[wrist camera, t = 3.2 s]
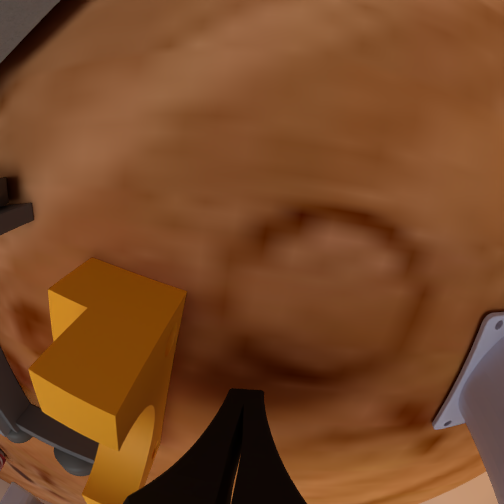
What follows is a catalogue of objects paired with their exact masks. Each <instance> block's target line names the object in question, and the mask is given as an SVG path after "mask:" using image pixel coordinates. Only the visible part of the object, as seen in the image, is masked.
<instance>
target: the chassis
mask: <svg viewBox="0 0 504 504" xmlns="http://www.w3.org/2000/svg"><path fill="white" fill-rule="evenodd" d="M8 203H9V200H8V192H7V182H6V177H3V178H0V235H2V234H4V233H6V232H8V231H10V230H13V229H15V228H17V227H19V226H21V225H24V224H26V223H28V222H31V221H33V220H34V218H33V211H32V203H25V204H15V205H6V204H8ZM4 205H5V206H4ZM0 434H2V435H3V436H5V437H6V436H7V438H8V439H9V440H10V441H12V442H14V443H24V442H26V441H28V440H30V439H31V438H32V437H35V438H37V439H39V440H41V441H43V442H45V443H47V444H49V445H51V446H53V447H54V455H55V457H56V459H57V461H58V462H59V463H60V464H61V465H62V466H63V468H64V469H65V470H66V471H67V472H69V473H70V474H73V475H76V476H86V475H89V474H90V473H91V470H92V467H93V464H94V461H95V458H96V454H97V450H98V446H99V443H98V442H96V441H94V440H92V439H90V438H88V437H86V436H84V435H82V434H80V433H78V432H76V431H74V430H73V429H71V428H69V427H67V426H65V425H64V424H62V423H60V422H58V421H57V420H55V419H53V418H52V417H50V416H48V415H47V414H45V413H43V412H42V410H41V409H40V408H38V407H36V406H34V405H32V404H30V403H29V401H28V399H27V398H26V396H25V394H24V393H23V391H22V389H21V387H20V385H19V384H18V382H17V380H16V378H15V376H14V374H13V372H12V370H11V368H10V366H9V364H8V362H7V360H6V358H5V356H4V354H3V352H2V350H1V347H0Z"/></svg>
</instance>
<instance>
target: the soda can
mask: <svg viewBox="0 0 504 504" xmlns="http://www.w3.org/2000/svg"><path fill="white" fill-rule="evenodd" d="M5 461H6V459H5V456H4V453H3V452H2V451H1V449H0V471H1V469H2V467H3V465H4V463H5Z"/></svg>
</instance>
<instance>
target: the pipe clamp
mask: <svg viewBox="0 0 504 504" xmlns="http://www.w3.org/2000/svg"><path fill="white" fill-rule="evenodd" d="M48 295H49V307H50V317H51V326H52V334H53V341H54V342H53V343H52V344H51V345H50V346H49V347H48V348H47V349H46V350H45V351H44V353H43V354H42V355H41V356H40V357H39V358H38V359H37V360H36V361H35V362H34V363H33V364H32V365H31V367H30V368H29V369H28V370H29V373H30V377H31V380H32V383H33V386H34V389H35V392H36V395H37V398H38V401H39V404H40V407H41V410H42V412H43V413H45V414H47V415H48V416H50V417H52V418H53V419H55V420H57V421H58V422H60V423H62V424H64V425H65V426H67V427H69V428H71V429H73V430H74V431H76V432H78V433H80V434H82V435H84V436H86V437H88V438H90V439H92V440H94V441H96V442H98V443H99V446H98V450H97V454H96V458H95V461H94V464H93V467H92V470H91V473H90V476H89V478H88V481H87V483H86V486H85V488H84V490H83V492H82V496H83V497H84V499H85V501H86V502H87V504H123V502H124V501H125V499H126V498H127V497H128V496H129V495H130V494H132V493H134V492H136V491H137V490H139V489H141V488H142V487H144V485H145V483H146V480H147V477H148V475H149V472H150V469H151V467H152V464H153V461H154V458H155V456H156V453H157V450H158V448H159V445H160V440H161V433H162V426H163V419H164V413H165V406H166V400H167V394H168V388H169V382H170V376H171V371H172V365H173V360H174V354H175V349H176V344H177V338H178V333H179V328H180V323H181V318H182V313H183V309H184V304H185V299H186V295H187V291H185V290H182V289H179V288H176V287H173V286H170V285H167V284H164V283H161V282H158V281H155V280H153V279H150V278H147V277H144V276H141V275H138V274H136V273H133V272H130V271H127V270H125V269H122V268H119V267H117V266H114V265H111V264H109V263H106V262H103V261H101V260H98V259H96V258H93V257H92V258H90V259H89V260H87V261H86V262H85V263H83V264H82V265H80V266H79V267H77V268H76V269H75V270H73V271H72V272H71V273H69V274H68V275H66V276H65V277H64V278H62V279H61V280H60V281H58V282H57V283H56V284H54V285H53V286H52V287H50V288H49V289H48Z"/></svg>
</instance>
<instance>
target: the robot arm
mask: <svg viewBox="0 0 504 504" xmlns="http://www.w3.org/2000/svg"><path fill="white" fill-rule="evenodd" d="M463 423H466V425H467V427H468V429H469V431H470V433H471V435H472V438H473V440H474V442H475V444H476V447H477V449H478V451H479V454H480V456H481V458H482V461H483V463H484V466H485V468H486V471H487V473H488V476H489V478H490V481H491V484H492V486H493V489H494V492H495V495H496V498H497V500H498V503H499V504H504V312H496V313H490V314H488V315H487V316H486V317H485V318H484V320H483V322H482V324H481V327H480V329H479V332H478V334H477V337H476V339H475V341H474V344H473V346H472V348H471V351H470V353H469V355H468V357H467V360H466V362H465V364H464V366H463V368H462V370H461V372H460V374H459V376H458V378H457V380H456V382H455V384H454V386H453V388H452V390H451V392H450V393H449V395H448V397H447V399H446V401H445V402H444V404H443V406H442V408H441V409H440V411H439V413H438V414H437V416H436V418H435V419H434V421H433V423H432V425H433V428H434V429H435V430H438V429H443V428H447V427H451V426H455V425H459V424H463ZM240 455H241V456H240ZM239 459H240V462H239ZM238 463H239V467H238ZM237 467H238V473H237V478H236V483H235V488H234V493H233V497H232V502H231V496H232V489H233V484H234V479H235V475H236V471H237ZM230 503H231V504H307V503H306V502H305V500H304V499H303V497H302V496H301V494H300V493H299V491H298V490H297V488H296V486H295V485H294V483H293V481H292V480H291V478H290V476H289V474H288V473H287V471H286V469H285V467H284V465H283V463H282V460H281V458H280V456H279V454H278V451H277V449H276V446H275V443H274V441H273V438H272V435H271V431H270V428H269V425H268V421H267V417H266V412H265V405H264V392H263V391H262V390H248V389H236V388H231V389H230V390H229V392H228V394H227V396H226V398H225V400H224V402H223V404H222V406H221V408H220V409H219V411H218V413H217V414H216V416H215V417H214V419H213V420H212V422H211V423H210V425H209V426H208V427H207V429H206V430H205V431H204V433H203V434H202V435H201V436H200V438H199V439H198V440H197V441H196V443H195V444H194V445H193V446H192V447H191V448H190V449H189V450H188V451H187V452H186V453H185V454H184V455H183V456H182V457H181V458H180V459H179V460H178V461H177V462H176V463H175V464H174V465H173V466H172V467H170V468H169V469H168V470H167V471H165V472H164V473H163V474H161V475H160V476H159V477H157V478H156V479H155V480H153V481H152V482H150V483H149V484H147V485H146V486H144V487H142V488H141V489H139V490H137V491H136V492H134V493H132V494H130V495H129V496H128V497H127V498H126V499H125V501H124V502H123V504H230ZM0 504H44V503H42V502H40V500H39V499H38V498H36V497H35V496H34V495H33V494H31V493H30V492H28V491H27V490H25V489H24V488H22V487H21V486H19V485H18V484H16V483H15V482H12V483H11V484H10V486H9V488H8V490H7V491H6V493H5V495H4V496H3V498H2V500H1V502H0Z"/></svg>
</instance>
